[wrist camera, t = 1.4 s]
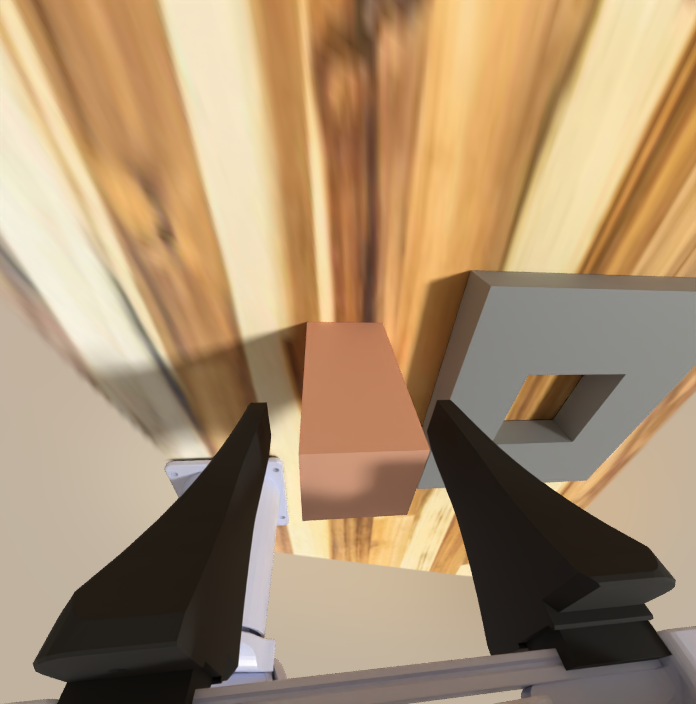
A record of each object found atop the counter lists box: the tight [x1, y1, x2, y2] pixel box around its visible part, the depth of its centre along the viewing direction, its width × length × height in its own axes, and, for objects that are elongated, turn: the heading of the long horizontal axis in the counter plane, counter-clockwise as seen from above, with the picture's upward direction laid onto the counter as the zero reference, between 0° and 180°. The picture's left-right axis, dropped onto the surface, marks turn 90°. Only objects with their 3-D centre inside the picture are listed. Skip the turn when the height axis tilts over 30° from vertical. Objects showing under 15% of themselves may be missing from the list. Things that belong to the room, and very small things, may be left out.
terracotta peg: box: [299, 322, 430, 521], centre depth 13 cm, size 4×4×8 cm
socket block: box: [417, 270, 696, 489], centre depth 19 cm, size 16×14×2 cm
